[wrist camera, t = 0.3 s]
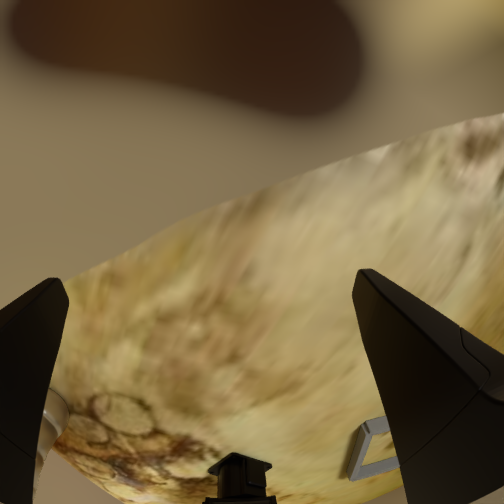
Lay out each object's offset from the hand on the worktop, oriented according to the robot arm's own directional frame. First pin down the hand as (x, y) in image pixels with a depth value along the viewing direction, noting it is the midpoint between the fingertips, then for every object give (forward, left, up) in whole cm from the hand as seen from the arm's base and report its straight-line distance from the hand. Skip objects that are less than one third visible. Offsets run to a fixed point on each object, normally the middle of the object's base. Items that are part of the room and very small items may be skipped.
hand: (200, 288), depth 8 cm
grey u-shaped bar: (-14, -37, -15) cm, 42 cm away
